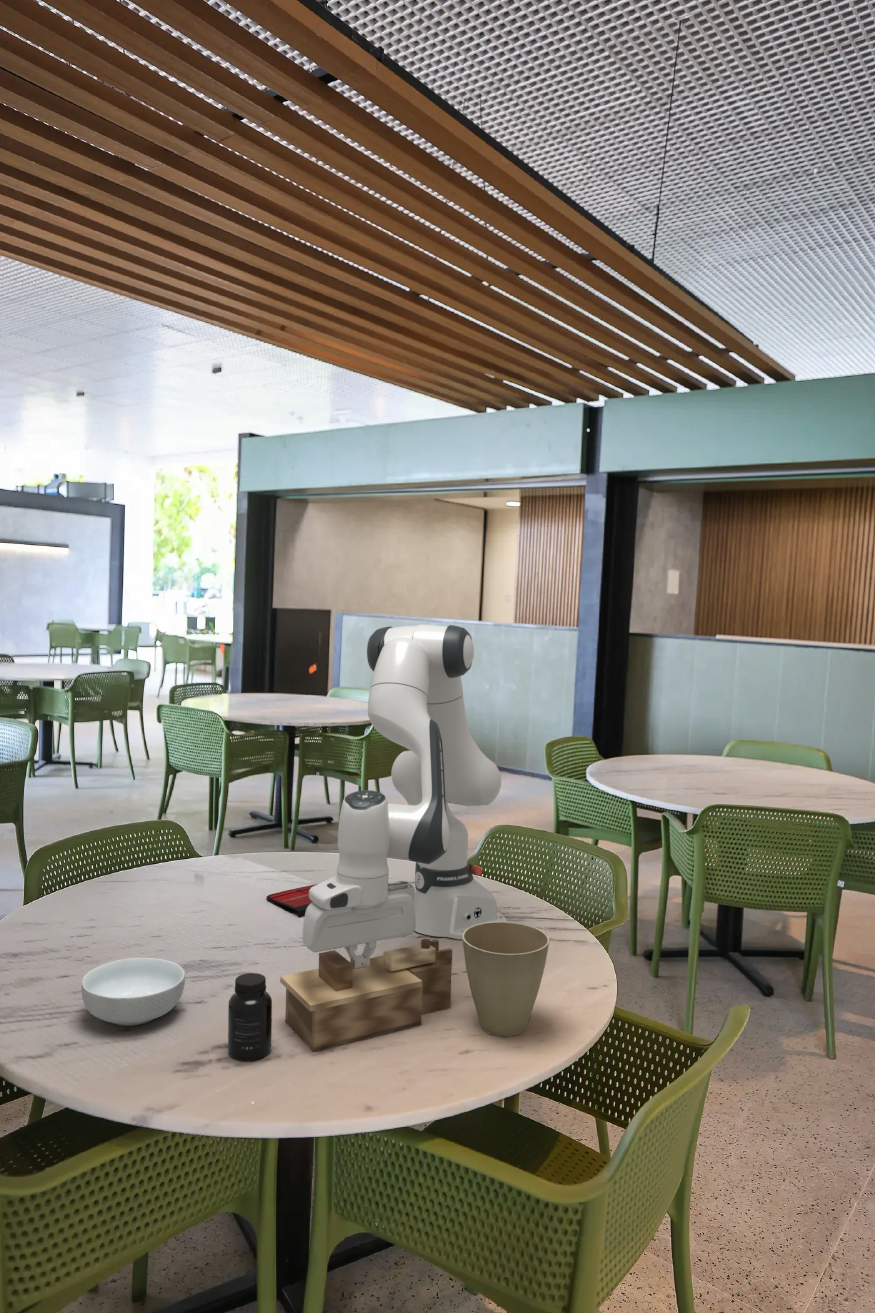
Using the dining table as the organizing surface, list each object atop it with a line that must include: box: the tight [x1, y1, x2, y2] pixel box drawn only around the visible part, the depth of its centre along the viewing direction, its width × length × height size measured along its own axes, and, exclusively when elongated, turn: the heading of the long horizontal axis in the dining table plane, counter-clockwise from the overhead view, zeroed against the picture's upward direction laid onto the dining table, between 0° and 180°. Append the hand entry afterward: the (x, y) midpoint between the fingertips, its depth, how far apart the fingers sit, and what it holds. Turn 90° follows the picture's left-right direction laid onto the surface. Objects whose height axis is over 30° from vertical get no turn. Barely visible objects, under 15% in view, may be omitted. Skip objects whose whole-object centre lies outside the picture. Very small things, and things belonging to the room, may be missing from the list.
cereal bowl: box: [81, 957, 186, 1027], centre depth 159 cm, size 17×17×7 cm
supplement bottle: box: [227, 972, 273, 1062], centre depth 148 cm, size 7×7×12 cm
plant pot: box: [461, 921, 550, 1037], centre depth 159 cm, size 15×15×16 cm
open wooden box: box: [284, 939, 453, 1053], centre depth 161 cm, size 28×12×11 cm, turn 122°
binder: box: [265, 883, 319, 919], centre depth 222 cm, size 16×2×21 cm
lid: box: [279, 949, 422, 1012], centre depth 158 cm, size 21×13×6 cm, turn 122°
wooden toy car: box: [382, 938, 436, 971], centre depth 164 cm, size 9×3×4 cm, turn 122°
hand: (359, 967), depth 159 cm, fingers closed
